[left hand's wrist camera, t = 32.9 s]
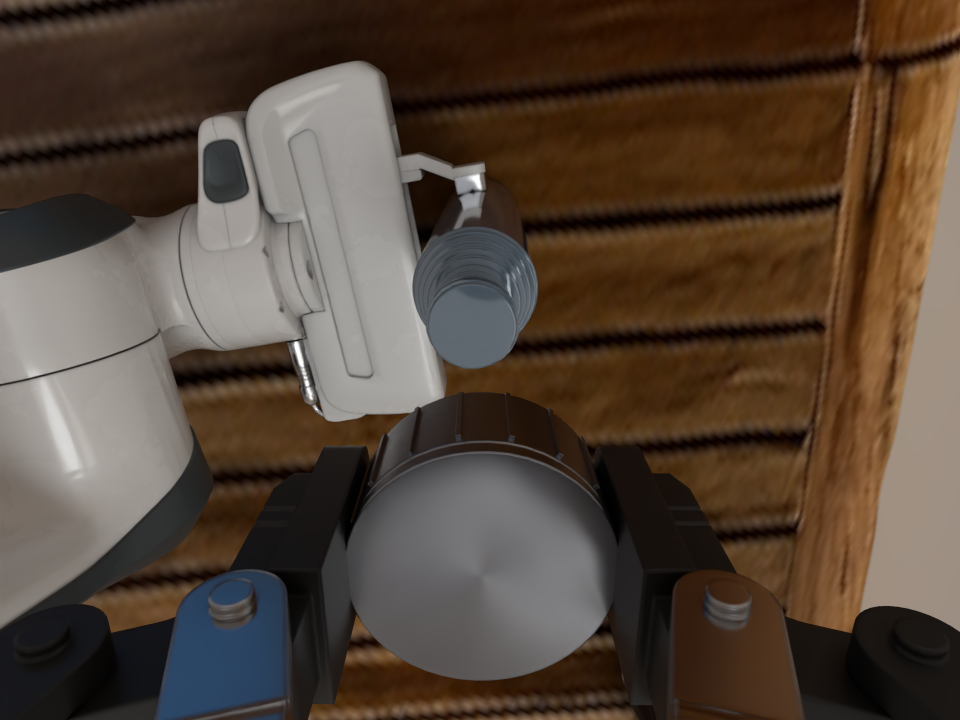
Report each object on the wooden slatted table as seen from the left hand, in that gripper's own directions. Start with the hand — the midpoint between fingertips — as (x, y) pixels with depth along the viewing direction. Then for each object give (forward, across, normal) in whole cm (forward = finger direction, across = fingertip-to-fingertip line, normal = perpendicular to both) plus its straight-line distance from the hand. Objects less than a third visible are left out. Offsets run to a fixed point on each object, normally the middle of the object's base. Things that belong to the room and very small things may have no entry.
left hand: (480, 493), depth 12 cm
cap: (-2, 0, 0) cm, 2 cm away
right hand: (+29, -1, 0) cm, 29 cm away
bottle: (+35, 0, 0) cm, 35 cm away
